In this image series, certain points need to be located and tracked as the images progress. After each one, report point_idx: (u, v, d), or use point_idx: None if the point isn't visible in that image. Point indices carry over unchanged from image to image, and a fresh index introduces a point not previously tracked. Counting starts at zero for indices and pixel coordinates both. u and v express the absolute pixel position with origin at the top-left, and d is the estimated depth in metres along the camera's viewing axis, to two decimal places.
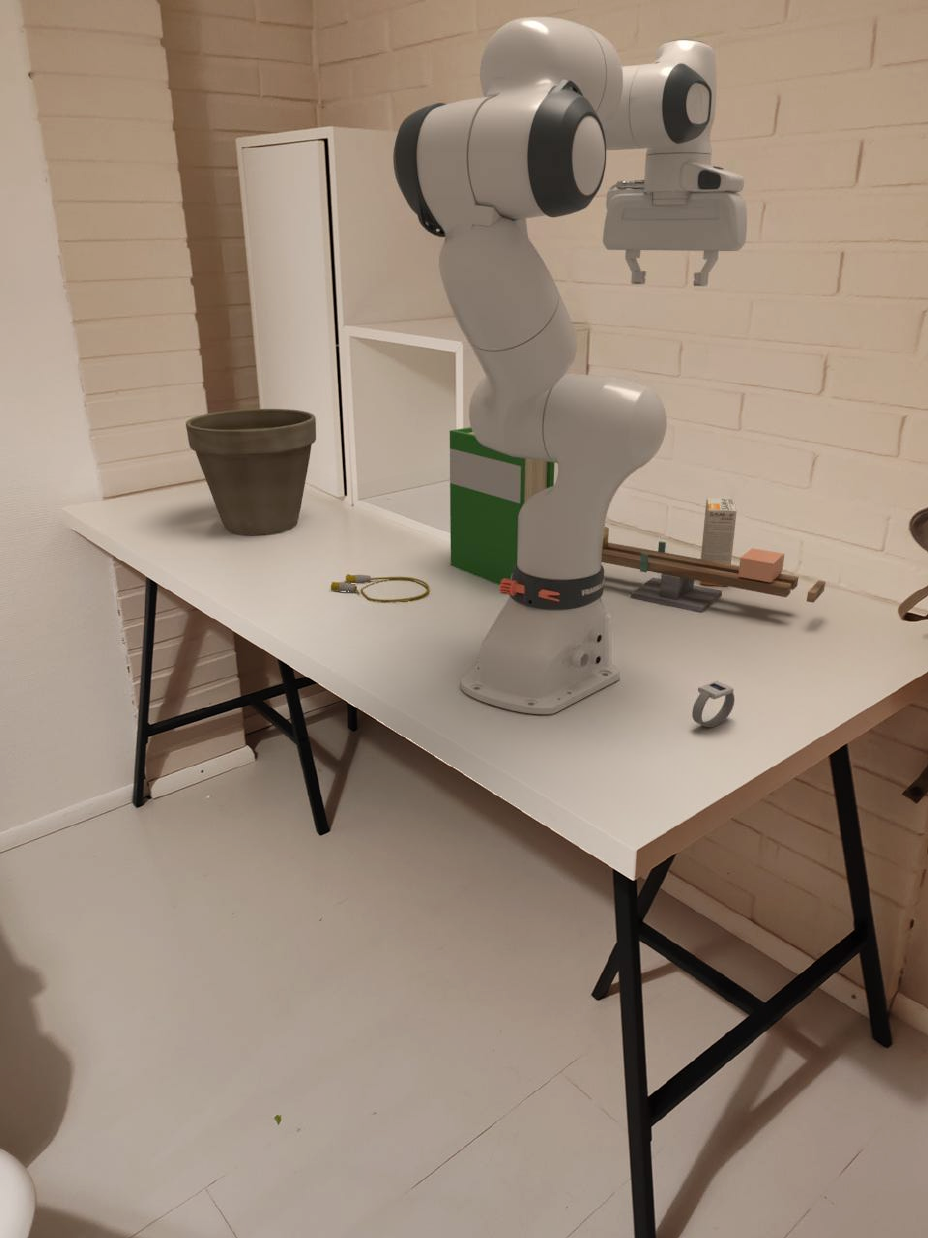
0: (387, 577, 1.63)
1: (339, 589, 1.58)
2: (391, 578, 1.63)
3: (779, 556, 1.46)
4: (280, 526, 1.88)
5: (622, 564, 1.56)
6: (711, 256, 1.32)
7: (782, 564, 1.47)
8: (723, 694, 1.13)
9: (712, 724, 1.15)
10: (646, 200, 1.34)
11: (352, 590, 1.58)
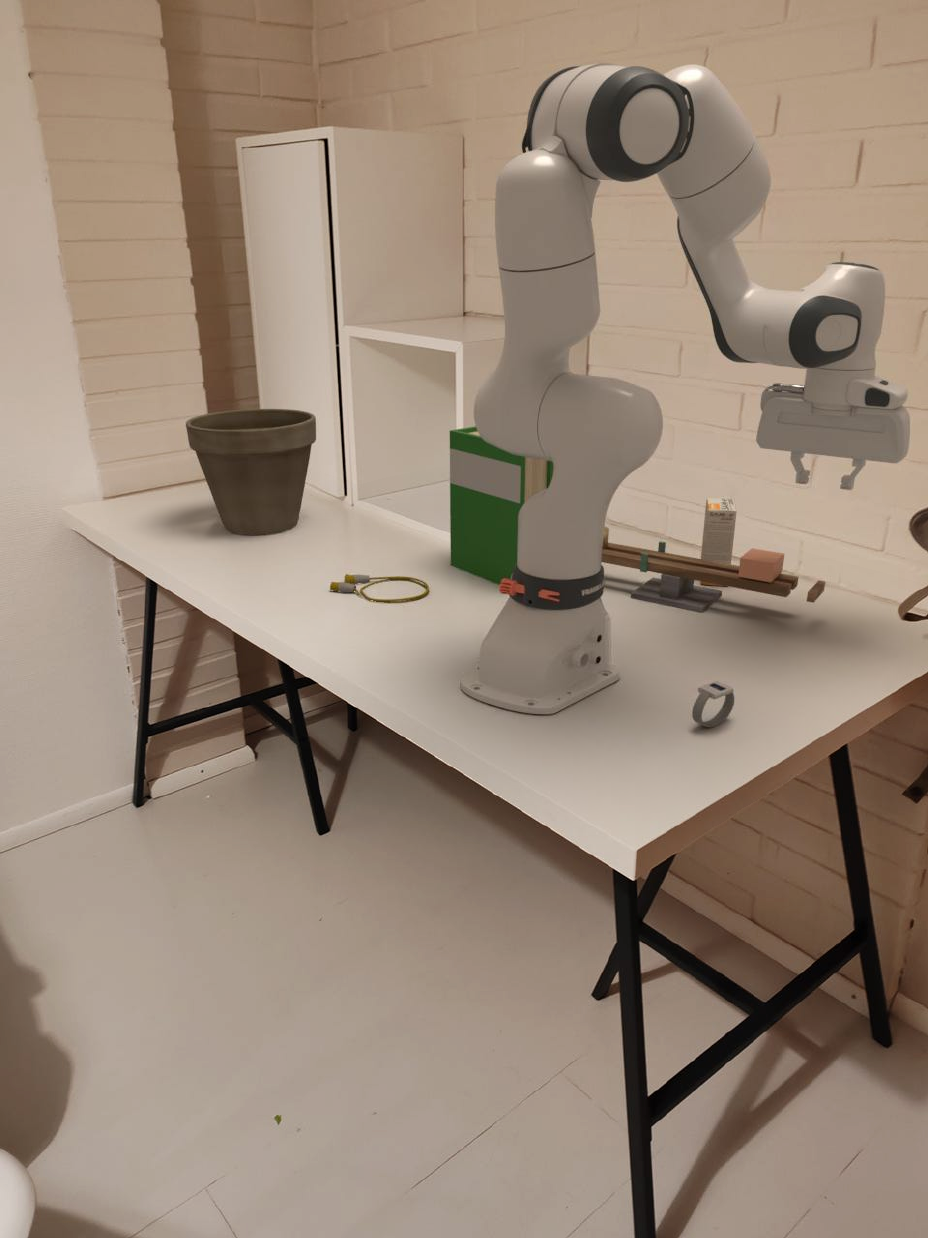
0: (386, 577, 1.63)
1: (338, 589, 1.58)
2: (390, 578, 1.63)
3: (779, 556, 1.46)
4: (280, 526, 1.88)
5: (622, 564, 1.56)
6: (860, 464, 1.33)
7: (782, 564, 1.47)
8: (723, 694, 1.13)
9: (712, 724, 1.15)
10: (806, 407, 1.34)
11: (351, 590, 1.57)
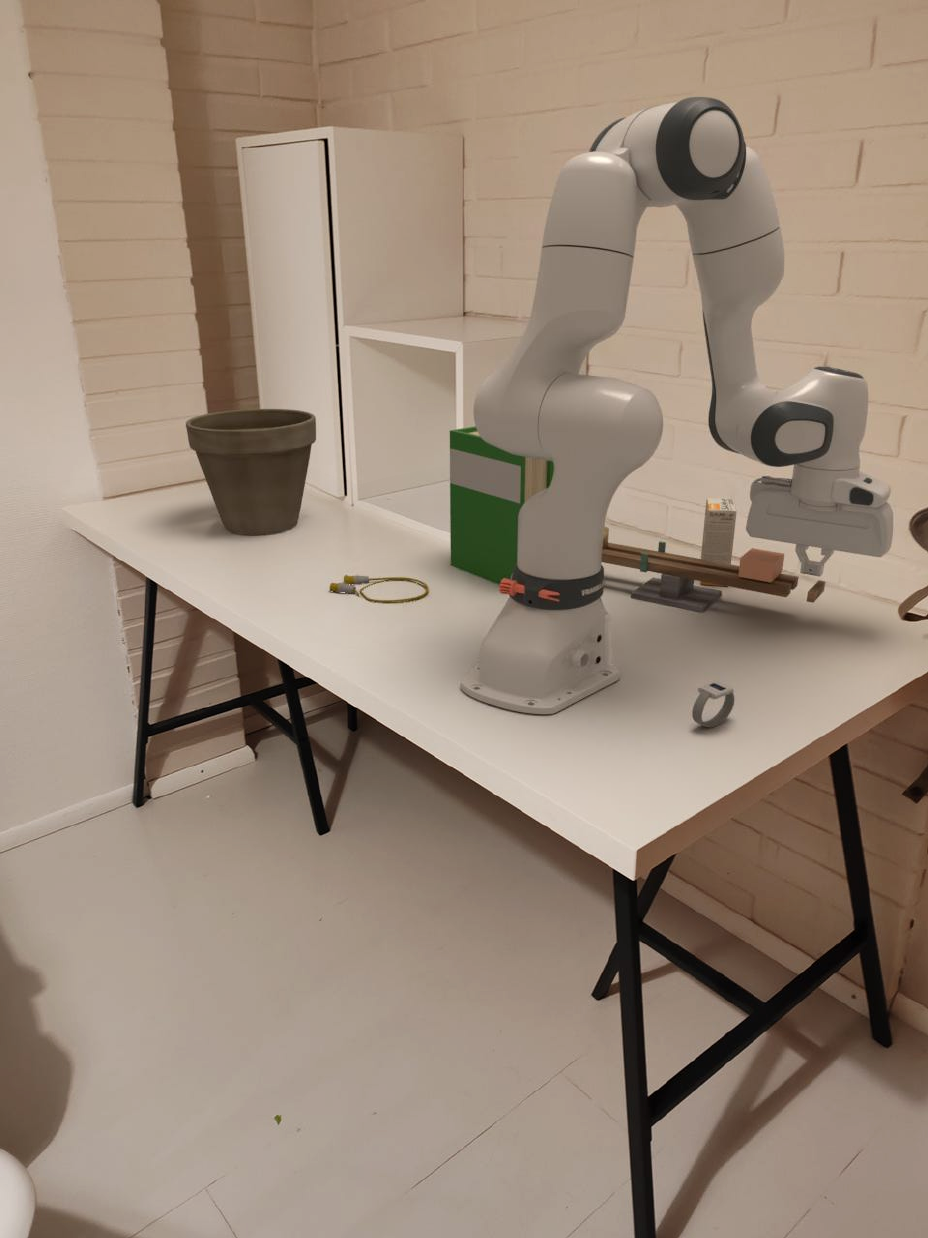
0: (385, 578, 1.63)
1: (338, 590, 1.57)
2: (389, 579, 1.63)
3: (779, 556, 1.46)
4: (280, 526, 1.88)
5: (622, 564, 1.56)
6: (829, 553, 1.40)
7: (782, 564, 1.47)
8: (723, 694, 1.13)
9: (712, 724, 1.15)
10: (793, 501, 1.39)
11: (351, 591, 1.57)
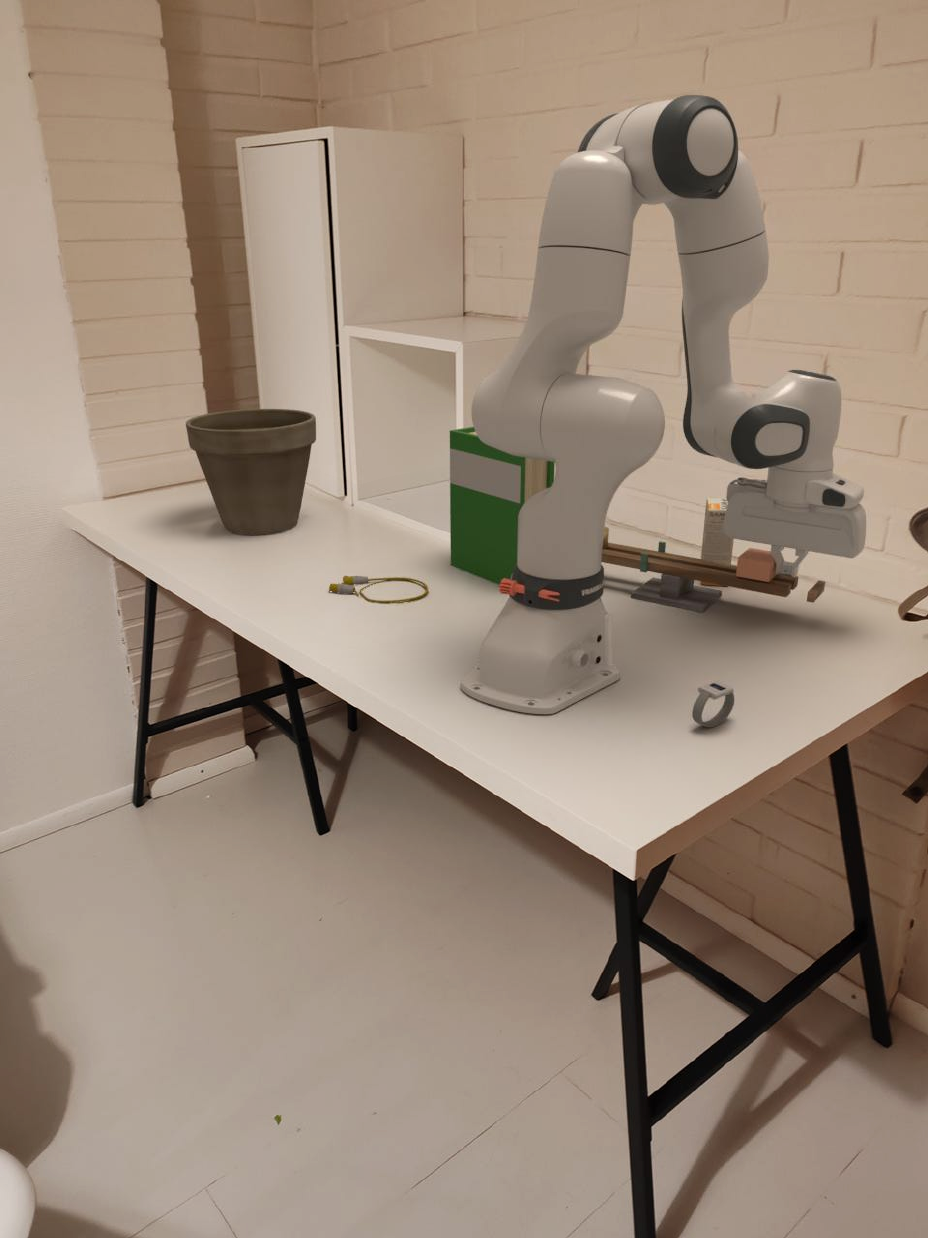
0: (384, 578, 1.63)
1: (337, 591, 1.57)
2: (388, 579, 1.63)
3: None
4: (280, 526, 1.88)
5: (622, 564, 1.56)
6: (803, 554, 1.41)
7: None
8: (723, 694, 1.13)
9: (712, 724, 1.15)
10: (768, 502, 1.41)
11: (351, 591, 1.57)
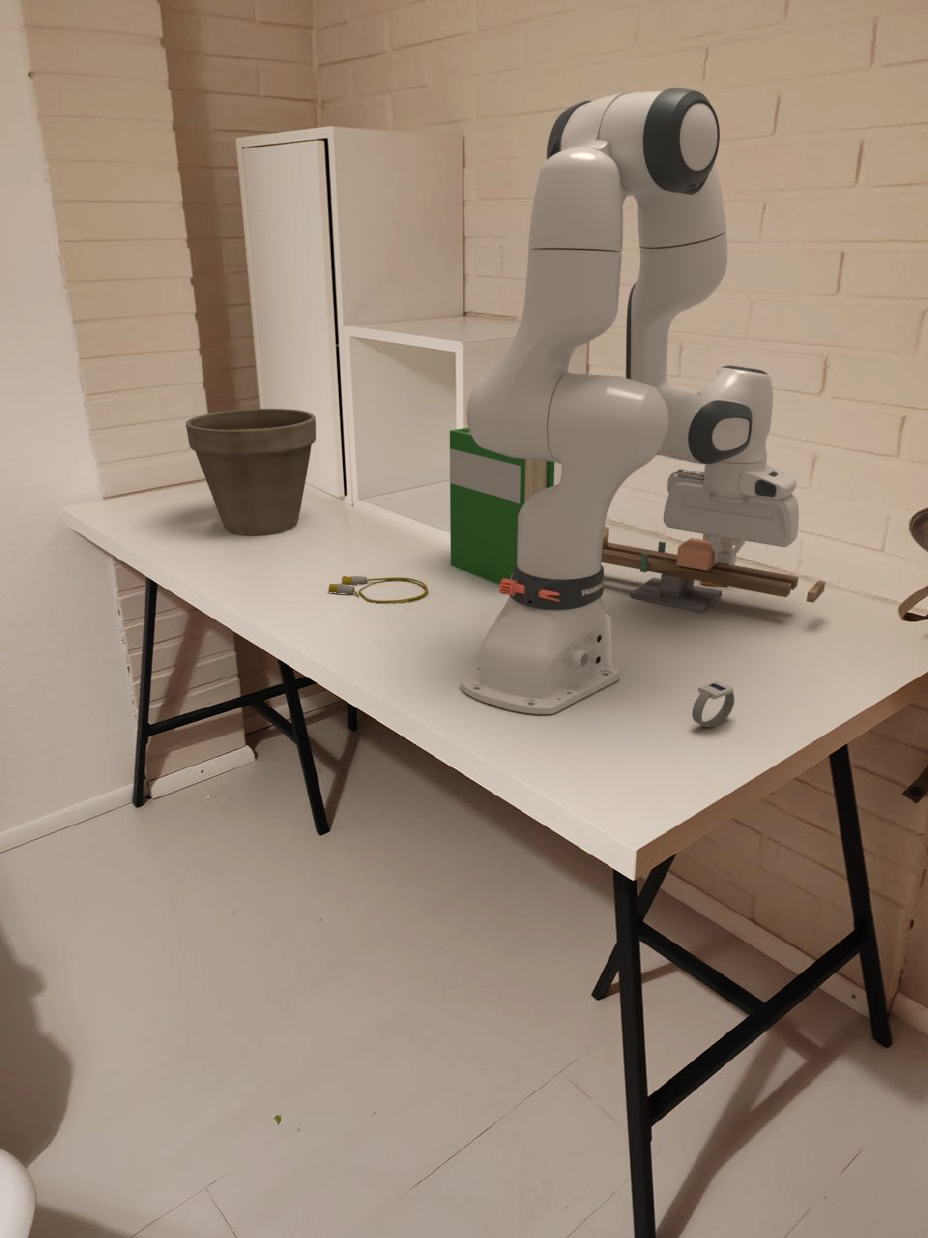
0: (383, 578, 1.63)
1: (337, 591, 1.57)
2: (387, 579, 1.63)
3: None
4: (280, 526, 1.88)
5: (622, 564, 1.56)
6: (739, 543, 1.46)
7: None
8: (723, 694, 1.13)
9: (712, 724, 1.15)
10: (705, 493, 1.46)
11: (350, 592, 1.57)
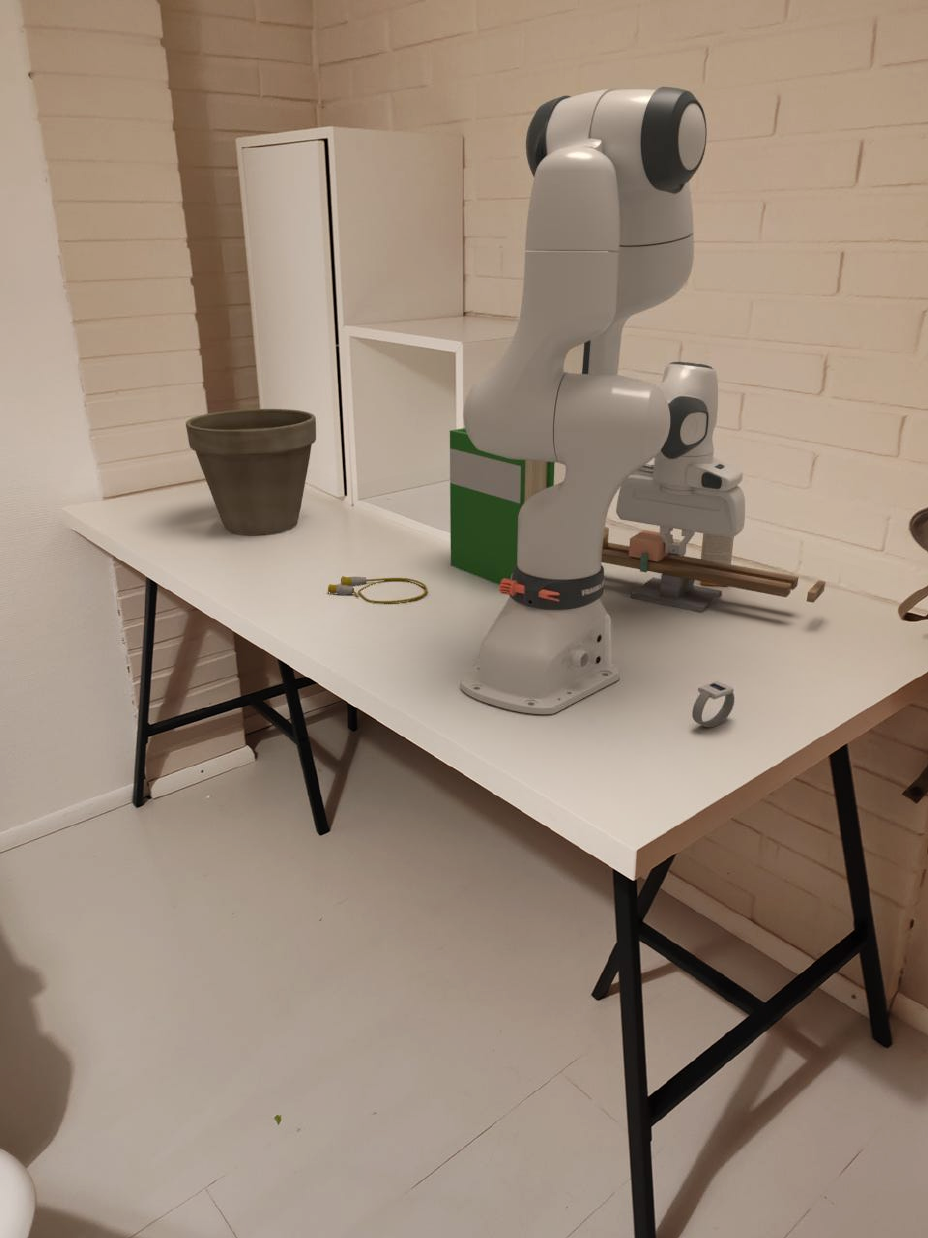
0: (382, 578, 1.63)
1: (336, 591, 1.57)
2: (386, 579, 1.63)
3: None
4: (280, 526, 1.88)
5: (622, 564, 1.56)
6: (688, 534, 1.50)
7: None
8: (723, 694, 1.13)
9: (712, 724, 1.15)
10: (655, 485, 1.50)
11: (350, 592, 1.57)
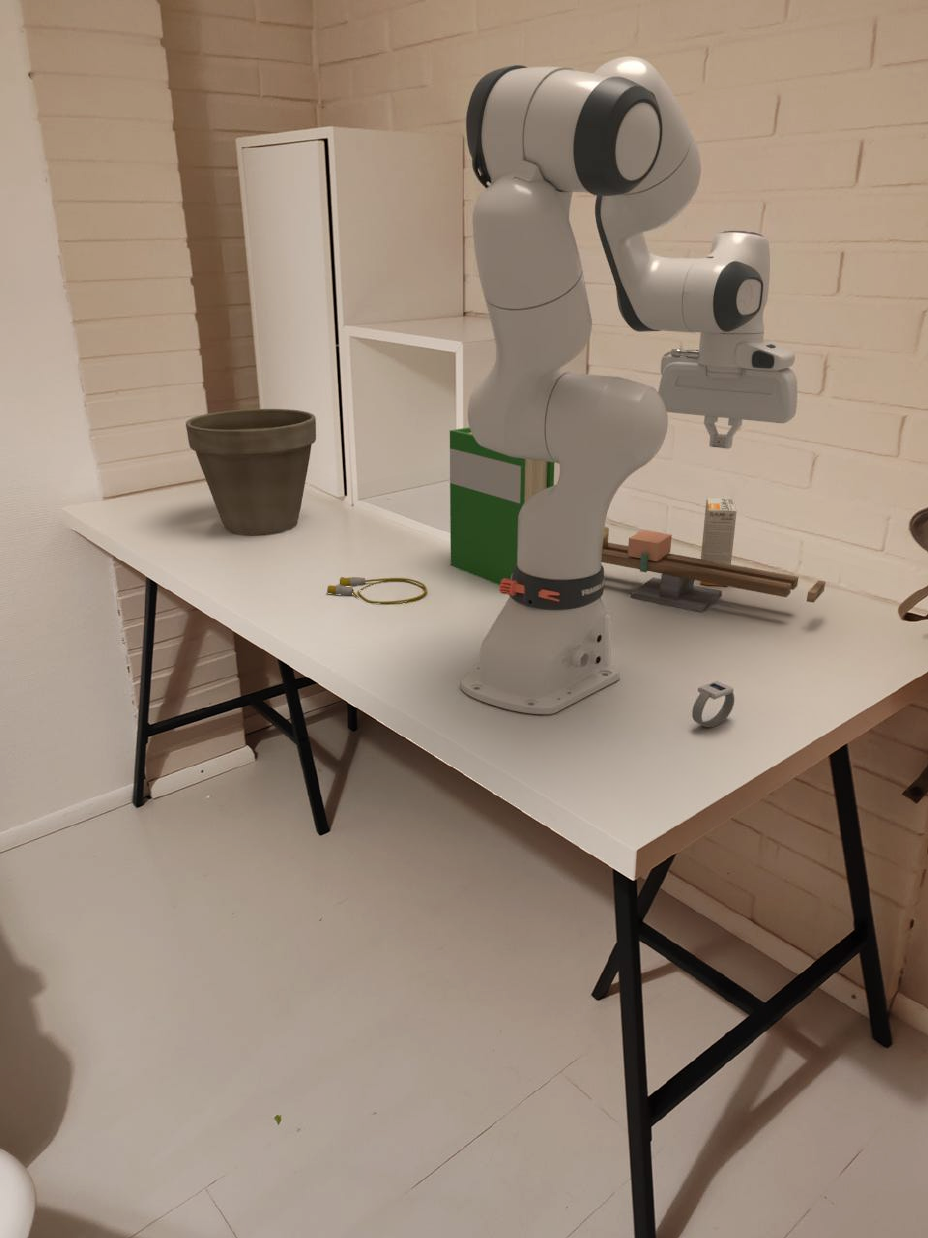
0: (381, 579, 1.62)
1: (336, 592, 1.57)
2: (385, 579, 1.63)
3: (666, 537, 1.55)
4: (280, 526, 1.88)
5: (622, 564, 1.56)
6: (736, 423, 1.41)
7: (670, 544, 1.56)
8: (723, 694, 1.13)
9: (712, 724, 1.15)
10: (700, 371, 1.41)
11: (349, 593, 1.56)
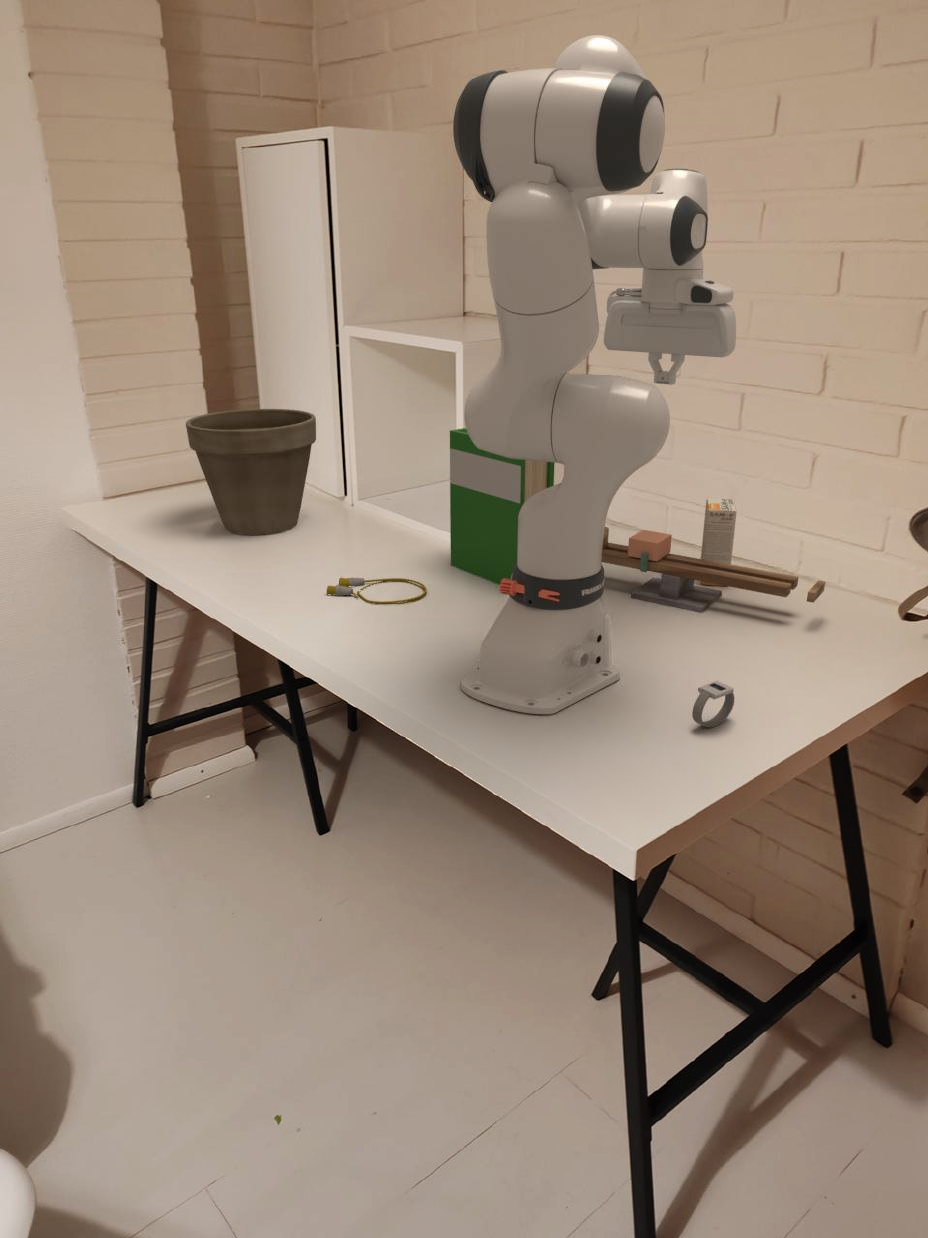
0: (380, 579, 1.62)
1: (335, 593, 1.56)
2: (384, 580, 1.63)
3: (666, 537, 1.55)
4: (280, 526, 1.88)
5: (622, 564, 1.56)
6: (678, 359, 1.46)
7: (670, 544, 1.56)
8: (723, 694, 1.13)
9: (712, 724, 1.15)
10: (643, 308, 1.45)
11: (349, 593, 1.56)
